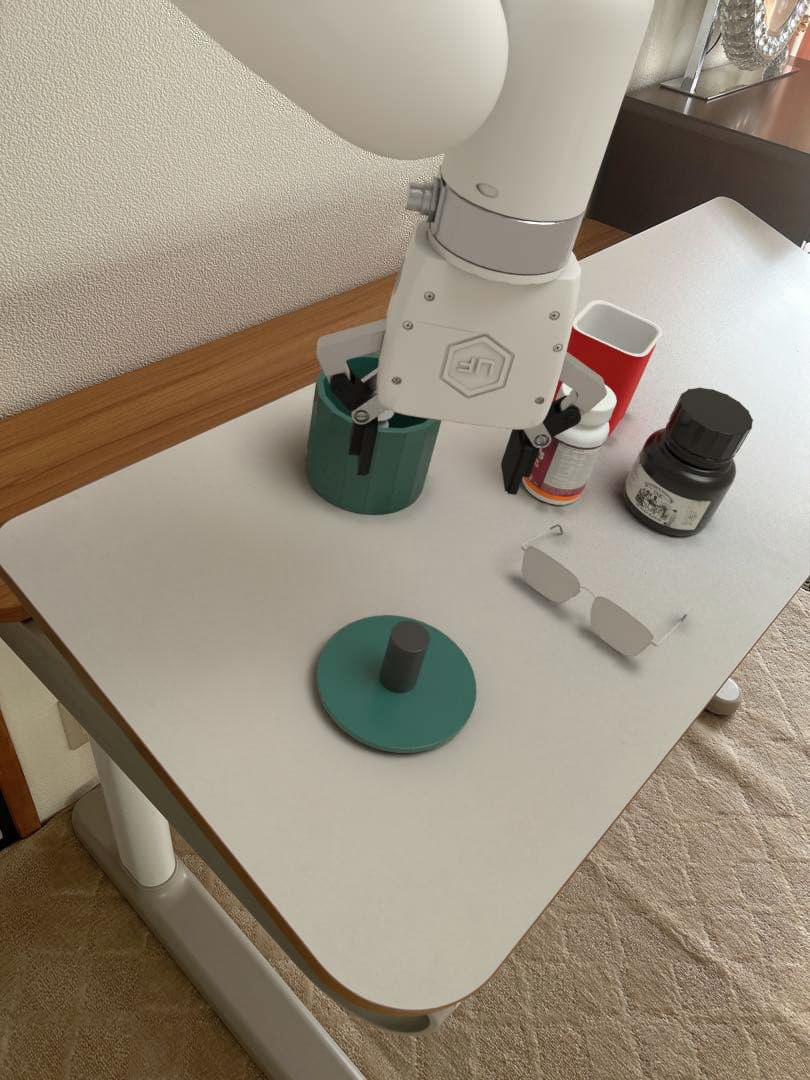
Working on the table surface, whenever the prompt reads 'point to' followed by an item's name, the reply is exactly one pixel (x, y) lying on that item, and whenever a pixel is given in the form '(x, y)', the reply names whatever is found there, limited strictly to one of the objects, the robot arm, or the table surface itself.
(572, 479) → the pill bottle
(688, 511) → the ink bottle
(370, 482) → the canister
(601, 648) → the table surface
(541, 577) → the eyeglasses
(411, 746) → the lid
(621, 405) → the mug
